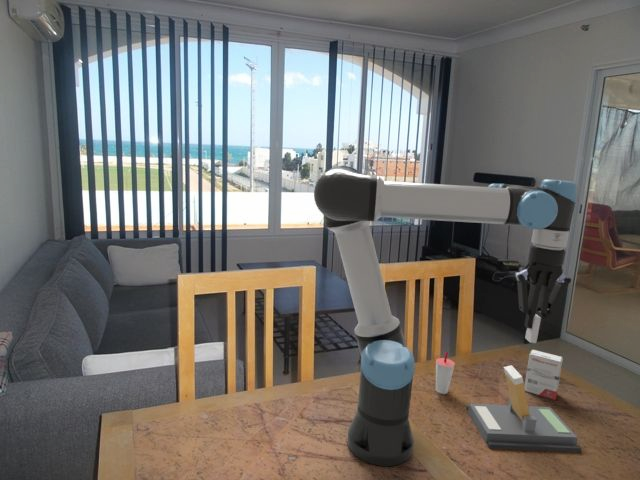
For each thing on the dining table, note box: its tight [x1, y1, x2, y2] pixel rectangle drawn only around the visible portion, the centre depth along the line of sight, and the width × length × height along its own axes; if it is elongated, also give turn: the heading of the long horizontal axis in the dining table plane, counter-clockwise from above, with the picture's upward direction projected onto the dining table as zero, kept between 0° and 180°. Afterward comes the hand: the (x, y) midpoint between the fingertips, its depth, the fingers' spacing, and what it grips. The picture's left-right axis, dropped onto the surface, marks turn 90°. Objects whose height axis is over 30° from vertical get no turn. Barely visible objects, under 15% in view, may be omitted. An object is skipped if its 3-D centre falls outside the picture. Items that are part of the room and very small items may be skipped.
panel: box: [467, 396, 578, 445], centre depth 116 cm, size 22×13×6 cm, turn 91°
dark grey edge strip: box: [487, 442, 582, 453], centre depth 109 cm, size 22×1×1 cm, turn 91°
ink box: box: [524, 349, 563, 400], centre depth 134 cm, size 9×5×12 cm, turn 58°
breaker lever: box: [503, 364, 530, 422], centre depth 115 cm, size 2×6×13 cm, turn 1°
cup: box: [435, 351, 456, 395], centre depth 131 cm, size 5×5×12 cm
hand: (530, 340), depth 112 cm, fingers closed
